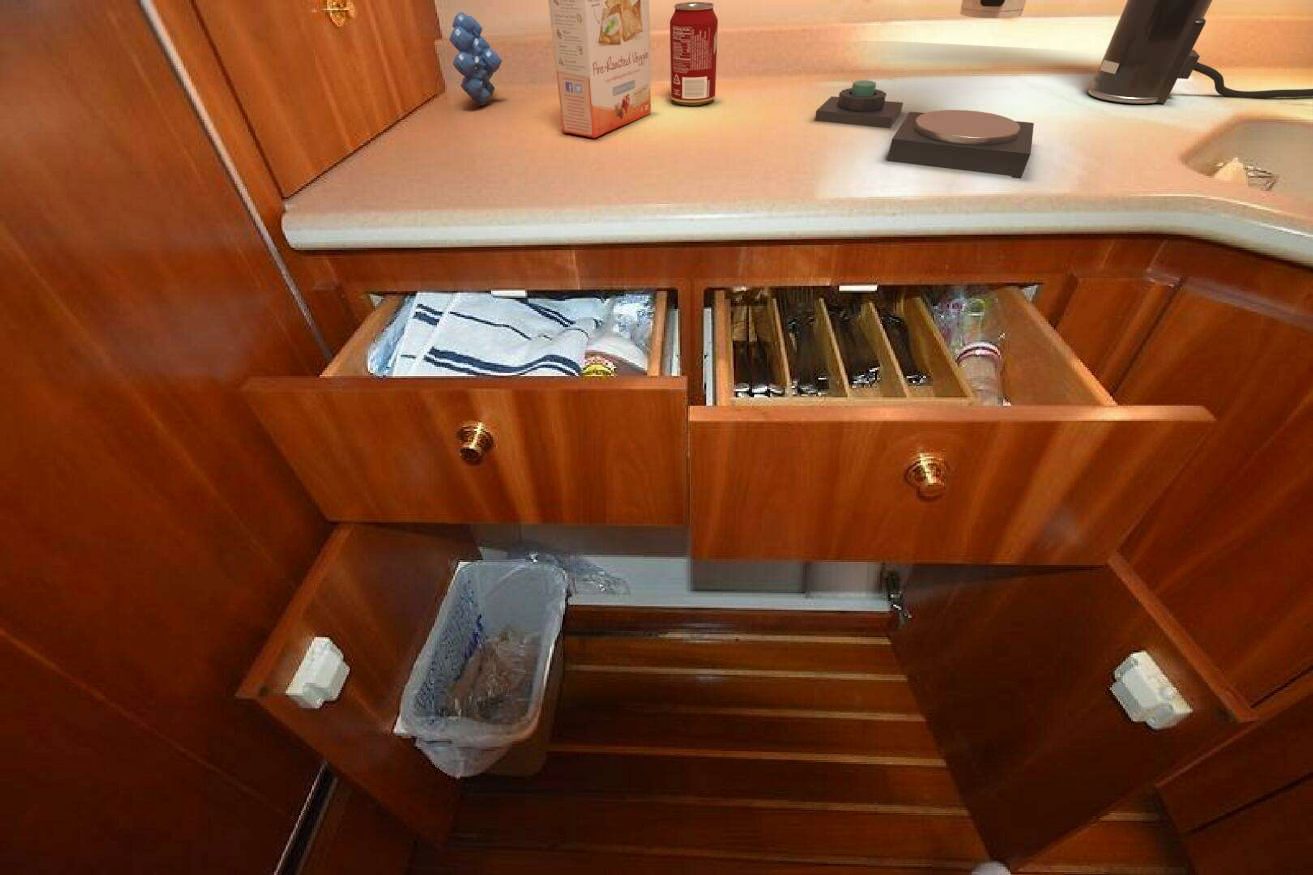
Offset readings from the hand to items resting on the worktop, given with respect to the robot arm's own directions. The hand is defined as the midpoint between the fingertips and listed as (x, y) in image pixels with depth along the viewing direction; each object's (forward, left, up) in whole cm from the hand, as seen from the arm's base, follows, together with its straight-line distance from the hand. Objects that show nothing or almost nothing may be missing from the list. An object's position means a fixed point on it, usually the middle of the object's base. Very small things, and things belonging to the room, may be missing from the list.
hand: (994, 0), depth 60 cm
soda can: (+38, -10, -15) cm, 42 cm away
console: (+13, -10, -14) cm, 22 cm away
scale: (-1, +1, -14) cm, 14 cm away
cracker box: (+44, +5, -15) cm, 47 cm away
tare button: (+13, -10, -12) cm, 20 cm away
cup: (0, 0, -1) cm, 1 cm away
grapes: (+67, +3, -15) cm, 69 cm away
